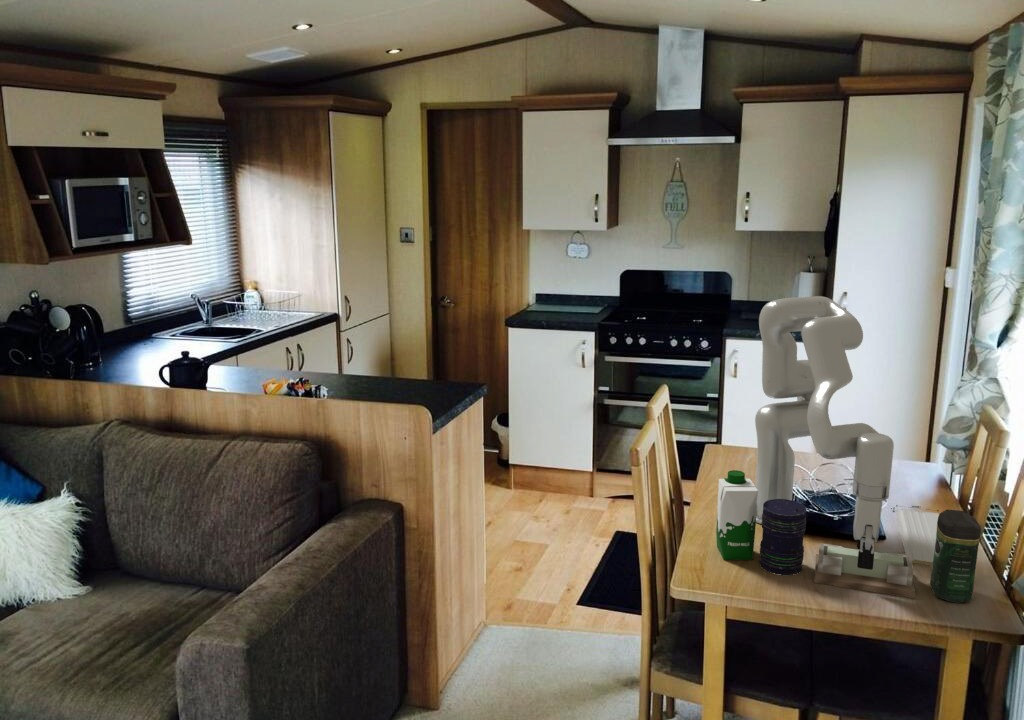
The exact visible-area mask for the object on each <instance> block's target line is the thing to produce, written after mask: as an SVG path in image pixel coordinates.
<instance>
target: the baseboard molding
mask: <svg viewBox="0 0 1024 720" xmlns="http://www.w3.org/2000/svg"><path fill="white" fill-rule="evenodd" d="M895 507H898V505H897V504H896V505H895ZM895 507H893V508H890V511H892V512H895V516H896V521H897V523H898V524H897V525H898V528H899V533H900V537H901V541H902V546H903V550H904V552H905V553H904V555H908V556H911V560H912V564H918V565H919V564H920V565H926V566H927V565H928V566H933V558H934V551H935V543H936V532H937V521H938V517H939V514H940V513H939V509H936V510H935V511H937V512H931V511H928V510H930V509H928V508H926V510H927V511H919V510H921V506H919V505H917V506H916V505H912V506H911V507H910V506H909V508H911V509H904V508H901V509H898V510H895ZM900 507H904V506H903V505H902V506H901V505H900ZM913 508H917V509H919V510H912V509H913Z"/></svg>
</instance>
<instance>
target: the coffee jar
mask: <svg viewBox="0 0 1024 720" xmlns="http://www.w3.org/2000/svg"><path fill="white" fill-rule="evenodd" d="M981 529H982V528H981V525H980V523H979V522H978V521H977V520H976V518H975V517H974V516H972V515H970V514H969V513H967V511H965V510H958V509H957V510H956V509H948V508H947V509H945V510H943V511H941V512H940V513H939V517H938V521H937V532H936V543H935V551H934V558H933V565H931V566H932V568H931V571H930V572H931V574H930V581H929V582H930V588H931V590H932V592H933V594H934V595H935V597H938V598H939V599H941V600H945V601H949V602H950V603H954V604H955V603H957V604H958V603H959V604H960V603H967V602H971V601H972V599H973V594H974V593H973V592H974V586H975V585H974V584H975V574H976V567H977V562H978V561H977V560H978V551H979V545H980V539H981Z"/></svg>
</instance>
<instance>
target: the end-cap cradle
mask: <svg viewBox="0 0 1024 720" xmlns="http://www.w3.org/2000/svg"><path fill="white" fill-rule="evenodd" d="M828 546H834V547H841V548H843V546H842V545H834V544H827V543H819V546H818V554H817V553H816V555H815V566H814V567H815V568H814V582H815V583H814V584H819V583H820V585H826V584H828V585H827V586H832V585H834V587H839V588H848V589H853V590H857V591H858V590H859V591H867V592H872V593H878V594H884V595H885V594H886V595H892V596H897V595H898V596H899V597H904V596H906V597H905V598H910V597H913V599H914V598H915V585H914V579H913V576H914V575H913V573H914V567H913V563H912V560H911V556H908V555H906V554H899V553H892V552H887V553H886V554H892V555H899V556H903V560H904V566H898V565H891V564H888V571H887V579H883V578H877V577H870V576H863V575H856V574H850V573H843V572H841V567H842V557H835V556H828V555H827V548H828ZM898 596H897V597H898Z"/></svg>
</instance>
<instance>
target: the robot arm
mask: <svg viewBox="0 0 1024 720" xmlns="http://www.w3.org/2000/svg"><path fill="white" fill-rule="evenodd" d="M758 325H759V327H758V328H759V333H760V337H761V338H760V339H761V341H762V354H761V355H762V360H761V361H762V362H761V363H762V365H761V366H762V368H761V382H762V383H761V384H762V391H763V393H764V394H765V396H767V397H768V398H770V399H774V400H776V399H780V400H781V399H790V398H791V399H792V398H796V401H784V402H776V403H769V404H766V405H764V406H762V407H760V408H759V409H758V410H757V412H756V414H755V418H754V422H755V423H754V424H755V431H756V439H757V442H756V443H757V449H756V450H757V453H756V472H755V484H754V485H755V486H756V489H757V490H758V496H757V510H756V524H760V525H762V514H763V504H764V502H766V501H768V500H772V499H787V500H792V501H793V492H794V477H795V460H796V459H795V457H796V456H795V455H796V454H795V451H794V450H793V448H792V447H791V445H790V443H789V440H792V439H797V438H798V439H799V438H803V437H804V438H805V437H810V438H811V440H812V441H811V442H812V443H813V446H814V448H815V450H816V453H818V455H819V456H820V457H822V458H823V459H826V460H838V459H846V458H855V460H854V471H853V482H852V483H853V484H852V495H854V496H855V497H856V498H855V507H854V519H853V526H852V527H853V539H854V540H855V541H856V550H859V552H858V563H857V567H858V568H863V569H869V570H872V569H873V562H874V552H875V543H877V542H878V538H879V532H880V526H881V519H882V511H883V510H882V508H883V502H884V501H886V500H887V499H889V498H890V497H889V496H890V490H891V489H890V488H891V487H890V486H891V476H892V469H893V468H892V466H893V459H894V458H893V457H894V456H893V455H894V446H895V445H894V444H895V443H894V441H893V439H892V438H891V437H890V436H889V435H886V434H882V433H880V432H878V431H877V430H876V429H875V428H874V427H872V426H871V425H869V424H867V423H865V422H857V423H846V424H839V425H832V422H831V420H830V416H829V405H830V403H831V402H830V401H831V399H832V397H833V395H834V394H835V393H836V392H837V391H839V390H840V389H842V388H844V387H846V386H847V385H849V384H850V383H851V382H852V381H853V372H852V369H851V366H850V363H849V359H848V356H847V353H846V351H850V350H851V351H852V350H856V349H857V348H859V347H860V346H861V345H862V342H863V340H864V331H863V328H862V325H861V324H860V321H858V319H857V317H855V316H854V315H853V314H852V313H851V312H850V311H848V309H847V310H846V309H845V308H844V307H842V306H841V305H839V304H838V303H837V302H835V301H834V300H832V299H831V298H829V297H826V296H822V295H818V296H817V295H815V296H805V297H804V296H803V297H802V296H801V297H799V296H798V297H797V296H796V297H795V296H794V297H784V298H779V299H774V300H771V301H769V302H767V303H765V305H764V306H763V307H762V309H761V310H760V313H759V317H758ZM793 332H800V333H801V339H802V343H803V347H804V350H805V353H806V356H807V357H806V358H807V359H798V345H797V341H796V339H795V338H794V336H793V334H792V333H793Z"/></svg>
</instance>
